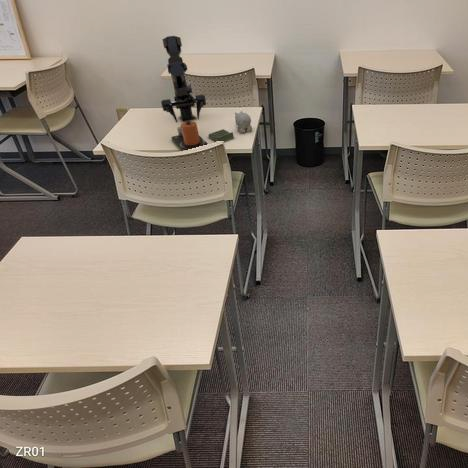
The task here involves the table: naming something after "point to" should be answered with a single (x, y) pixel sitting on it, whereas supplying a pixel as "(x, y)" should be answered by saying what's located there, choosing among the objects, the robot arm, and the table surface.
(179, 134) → the grey and red block
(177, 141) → the hob
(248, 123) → the round bodied animal figurine
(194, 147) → the hob plate
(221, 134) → the rack
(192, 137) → the pot
